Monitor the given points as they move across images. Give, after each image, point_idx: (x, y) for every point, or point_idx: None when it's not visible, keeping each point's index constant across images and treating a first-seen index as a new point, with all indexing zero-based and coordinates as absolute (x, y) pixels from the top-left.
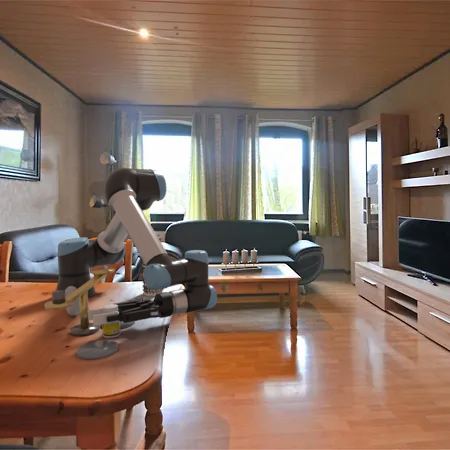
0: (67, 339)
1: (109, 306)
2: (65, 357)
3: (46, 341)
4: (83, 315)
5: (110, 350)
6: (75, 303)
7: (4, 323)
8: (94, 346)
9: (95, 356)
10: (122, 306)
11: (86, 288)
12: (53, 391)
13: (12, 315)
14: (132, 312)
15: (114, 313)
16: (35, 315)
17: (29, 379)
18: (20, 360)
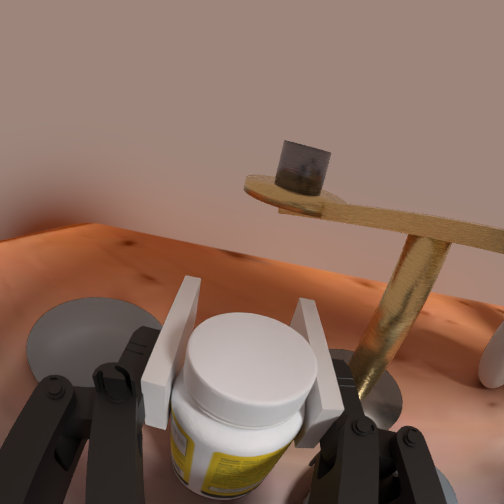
0: None
1: (251, 343)
2: (140, 294)
3: None
4: (363, 337)
5: (35, 346)
6: (494, 343)
7: (437, 293)
8: (116, 342)
9: (51, 310)
10: (335, 494)
11: (430, 220)
12: (35, 240)
13: (474, 306)
14: (22, 438)
15: (151, 365)
16: (479, 328)
17: (106, 241)
18: (207, 258)
